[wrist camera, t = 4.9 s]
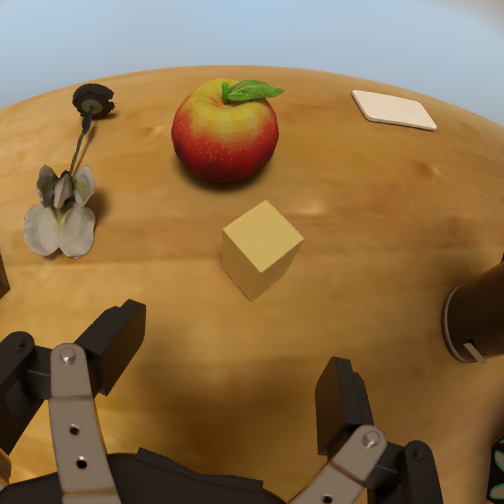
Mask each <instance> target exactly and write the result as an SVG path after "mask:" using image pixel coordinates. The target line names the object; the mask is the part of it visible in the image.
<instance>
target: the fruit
mask: <svg viewBox="0 0 504 504" xmlns="http://www.w3.org/2000/svg"><path fill="white" fill-rule="evenodd" d="M283 91H284V90H283V89H280V88H277V87H274V86H271V85H269V84H267V83H265V82H262V81H258V80H245V81H242V82H240V81H237V80H234V79H229V78H219V79H214V80H211V81H209V82H207V83H206V84H204V85H202V86H200V87H199V88H198V89H196V90H195V91H194V92H192V93H191V94H190V95H189V96H188V97H187V98H186V99H185V100H184V102H183V103H182V104H181V105H180V107H179V108H178V110H177V112H176V114H175V117H174V121H173V125H172V131H171V135H172V141H173V145H174V149H175V152H176V155H177V157H178V158H179V160H180V161H181V162H182V163H183V164H184V166H185V167H186V168H187V169H188V170H189V171H190V172H192V173H194V174H195V175H197V176H199V177H200V178H202V179H205V180H209V181H213V182H216V183H231V182H235V181H240V180H244V179H246V178H248V177H250V176H251V175H253V174H255V173H257V172H258V171H259V170H261V168H262V167H263V166H264V165H265V164H266V163H267V162H268V161H269V160H270V158H271V157H272V155H273V152H274V150H275V147H276V144H277V141H278V136H279V132H278V124H277V117H276V114H275V112H274V110H273V109H272V107H271V106H270V104H269V103H268V101H267V100H266V99H265V98H271V97H275V96H278V95H280V94H281V93H282V92H283Z"/></svg>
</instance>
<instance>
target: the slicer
mask: <svg viewBox="0 0 504 504" xmlns="http://www.w3.org/2000/svg"><path fill="white" fill-rule="evenodd" d="M9 290H10V288H9V285H8V281H7V278H6V275H5V271H4V267H3V264H2V260H1V256H0V298H1V297H2V296H3V295H4V294H6V293H7V292H8V291H9Z"/></svg>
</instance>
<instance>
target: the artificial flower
mask: <svg viewBox="0 0 504 504" xmlns="http://www.w3.org/2000/svg"><path fill="white" fill-rule="evenodd" d="M113 94H114V93H113V92H112V91H111V90H109V88H107V87H105V86H102V85H100V84H96V83H95V84H91V83H90V84H85V85H83V86H80V87H79V88H78V89H77V90H76V91H75V92H74V95H73V101H72V103H73V105H74V106H75V107H76V108H77V111H78V112H79V113H81V114H80V116H82V117H84V119H83V122H82V127H83V130H82V134H81V135H80V137H79V140H78V144H77V149H76V153H75V154H74V157H73V160H72V164H71V168H70V171H67V170H65V171H64V172H63V173H62V174H61V177H60V178H58V177H57V176H56V174H55V173H54V171H53V170H52V169H51V168H50V167H49V166H47V165H45V166H43V167H42V168H41V169H40V172H39V177H38V181H37V183H36V188H37V192H38V196H39V200H40V202H41V203H42V205H41V204H39V205H35V206H34V207H33V208H31V209H30V210H29V211H28V212H27V214H26V216H25V219H24V220H25V228H24V233H23V237H24V240H25V241H26V243H27V245H28V247H29V248H30V250H32V251H33V252H35V253H37V254H39V255H41V256H48V255H50V254H51V253H53V252H54V251H55V250H56V249H57V248H60V249H61V250H62V251H63V253H64V254H65V255H66V256H70V257H72V256H79V257H74V258H76V259H77V258H80V257H81V256H80V255H83V254H86V253H88V252H89V250H90V249H91V247H92V244H93V241H94V235H93V228H94V225H95V215H94V213H93V211H92V210H91V209H89V208H87V207H84V206H85V205H86V203H87V201H88V199H89V198H90V196H91V195H92V194H93V192H94V190H95V181H94V176H93V171H92V169H91V168H90V167H89V166H87V165H86V166H83V167H81V168H80V169H79V170H78V171H77V173H76V174H75V176H74V177H72V176H71V174H72V172H73V168H74V165H75V161H76V158H77V155H78V152H79V148H80V145H81V142H82V138H83V136H84V135H85V134H86V133H87V132H88V130H89V128H90V123H91V119H94V118H95V117H101V116H102V117H103V116H106V115H107V114H108V113H109V112H110V111H111V110H113V109H114V107H116V106H114V103H113V102H109V101H108V100H109V99H112V97H113ZM116 104H117V103H116ZM75 198H76V201H77V203H78V204H79V205H78V204H77V203H75Z"/></svg>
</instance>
